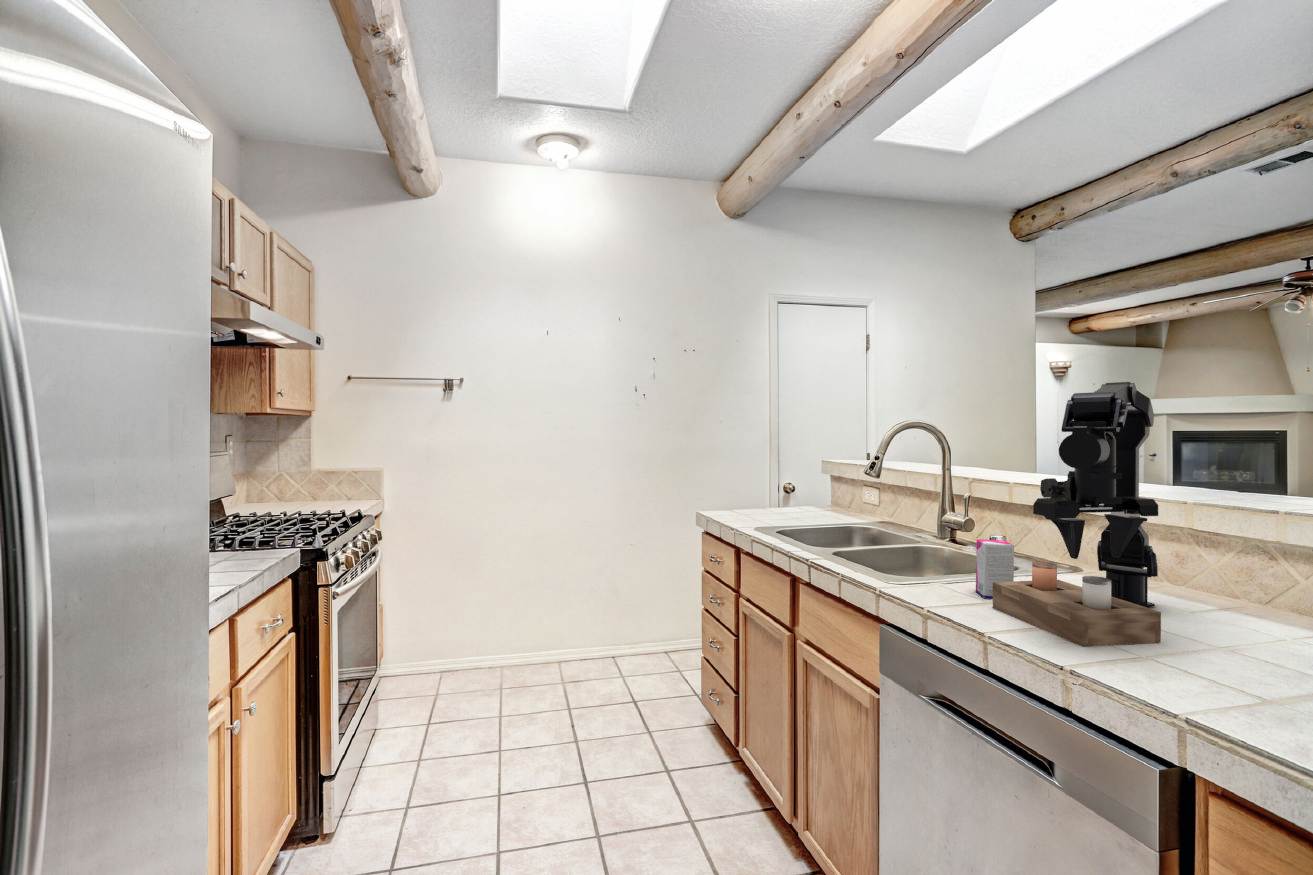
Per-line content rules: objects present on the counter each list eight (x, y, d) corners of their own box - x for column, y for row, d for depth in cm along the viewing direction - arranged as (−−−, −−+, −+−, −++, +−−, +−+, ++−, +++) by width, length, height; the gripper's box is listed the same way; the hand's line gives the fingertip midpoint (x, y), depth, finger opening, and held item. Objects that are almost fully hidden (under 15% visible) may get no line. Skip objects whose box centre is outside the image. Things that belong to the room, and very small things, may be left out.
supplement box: (1014, 600, 126) (1014, 544, 126) (983, 598, 127) (983, 543, 127) (1004, 592, 132) (1004, 539, 132) (974, 591, 133) (974, 538, 133)
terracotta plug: (1046, 589, 119) (1046, 561, 119) (1062, 594, 115) (1062, 565, 115) (1027, 590, 119) (1027, 561, 118) (1042, 595, 115) (1042, 566, 114)
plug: (1097, 607, 107) (1097, 575, 107) (1117, 613, 103) (1117, 581, 103) (1076, 608, 107) (1076, 576, 107) (1095, 614, 103) (1095, 582, 103)
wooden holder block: (1058, 604, 123) (1058, 579, 123) (1160, 642, 101) (1160, 611, 101) (992, 607, 121) (992, 582, 121) (1082, 646, 99) (1082, 615, 99)
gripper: (1105, 462, 114) (1105, 547, 114) (1011, 464, 112) (1011, 550, 112) (1161, 466, 103) (1161, 559, 103) (1057, 468, 101) (1057, 563, 101)
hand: (1094, 557), depth 105 cm, fingers open, 7 cm apart
